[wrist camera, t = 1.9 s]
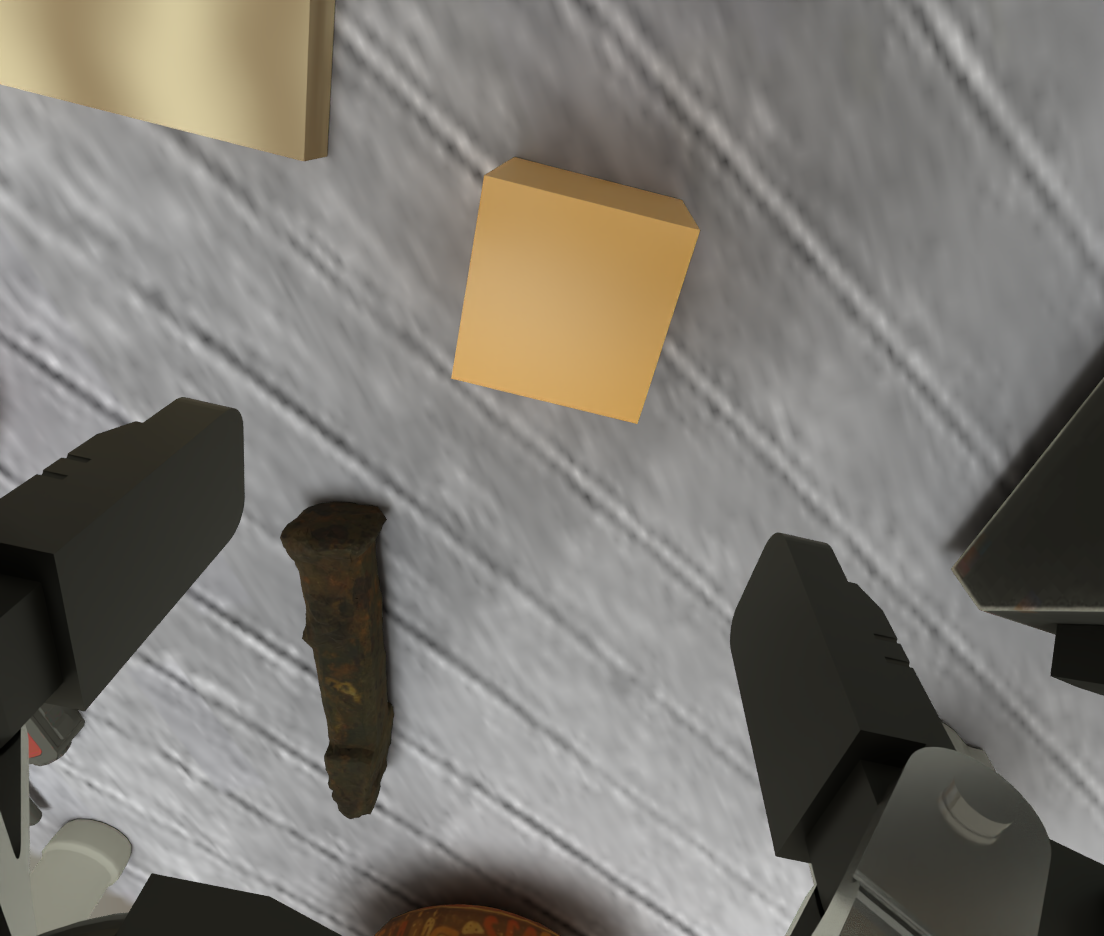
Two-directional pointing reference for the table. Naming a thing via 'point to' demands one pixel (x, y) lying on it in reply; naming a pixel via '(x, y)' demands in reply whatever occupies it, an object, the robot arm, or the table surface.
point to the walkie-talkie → (50, 739)
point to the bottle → (76, 872)
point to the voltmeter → (1052, 550)
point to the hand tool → (346, 643)
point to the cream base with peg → (183, 64)
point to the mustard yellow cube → (571, 288)
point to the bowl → (462, 923)
